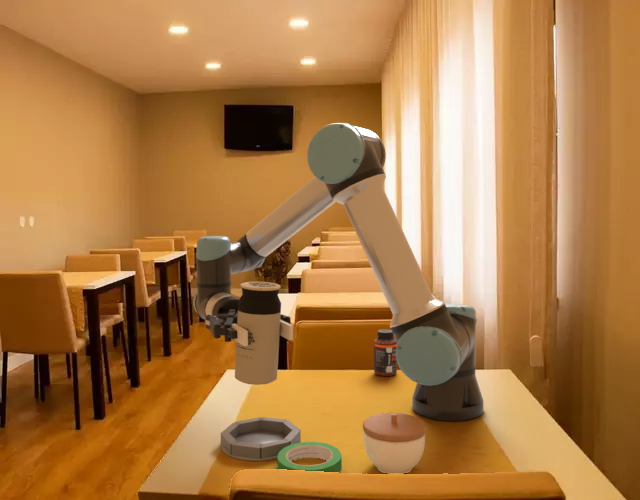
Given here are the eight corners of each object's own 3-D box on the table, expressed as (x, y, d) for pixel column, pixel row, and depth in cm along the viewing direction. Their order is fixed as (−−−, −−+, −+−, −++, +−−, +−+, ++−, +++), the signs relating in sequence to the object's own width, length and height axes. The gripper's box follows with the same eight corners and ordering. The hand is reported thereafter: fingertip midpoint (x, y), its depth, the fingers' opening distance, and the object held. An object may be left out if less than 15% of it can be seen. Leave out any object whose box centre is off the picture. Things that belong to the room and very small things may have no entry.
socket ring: (311, 432, 121) (310, 421, 120) (284, 465, 106) (283, 452, 106) (241, 425, 125) (241, 413, 125) (206, 455, 111) (206, 442, 111)
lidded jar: (418, 486, 98) (418, 429, 97) (354, 475, 102) (354, 421, 101) (431, 459, 108) (431, 407, 107) (373, 450, 112) (373, 400, 111)
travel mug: (261, 370, 121) (266, 280, 119) (285, 381, 115) (290, 287, 113) (226, 376, 116) (231, 282, 114) (249, 388, 110) (254, 289, 108)
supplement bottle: (396, 377, 156) (396, 333, 155) (372, 376, 157) (372, 333, 156) (397, 370, 161) (397, 328, 160) (375, 369, 163) (375, 327, 162)
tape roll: (322, 490, 98) (321, 474, 98) (265, 475, 103) (264, 460, 103) (352, 463, 108) (352, 448, 108) (298, 451, 113) (298, 437, 113)
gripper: (274, 325, 135) (320, 348, 115) (179, 336, 126) (213, 363, 106) (273, 291, 134) (320, 309, 114) (178, 300, 125) (211, 321, 105)
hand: (268, 335), depth 110 cm, fingers closed on travel mug, 8 cm apart
